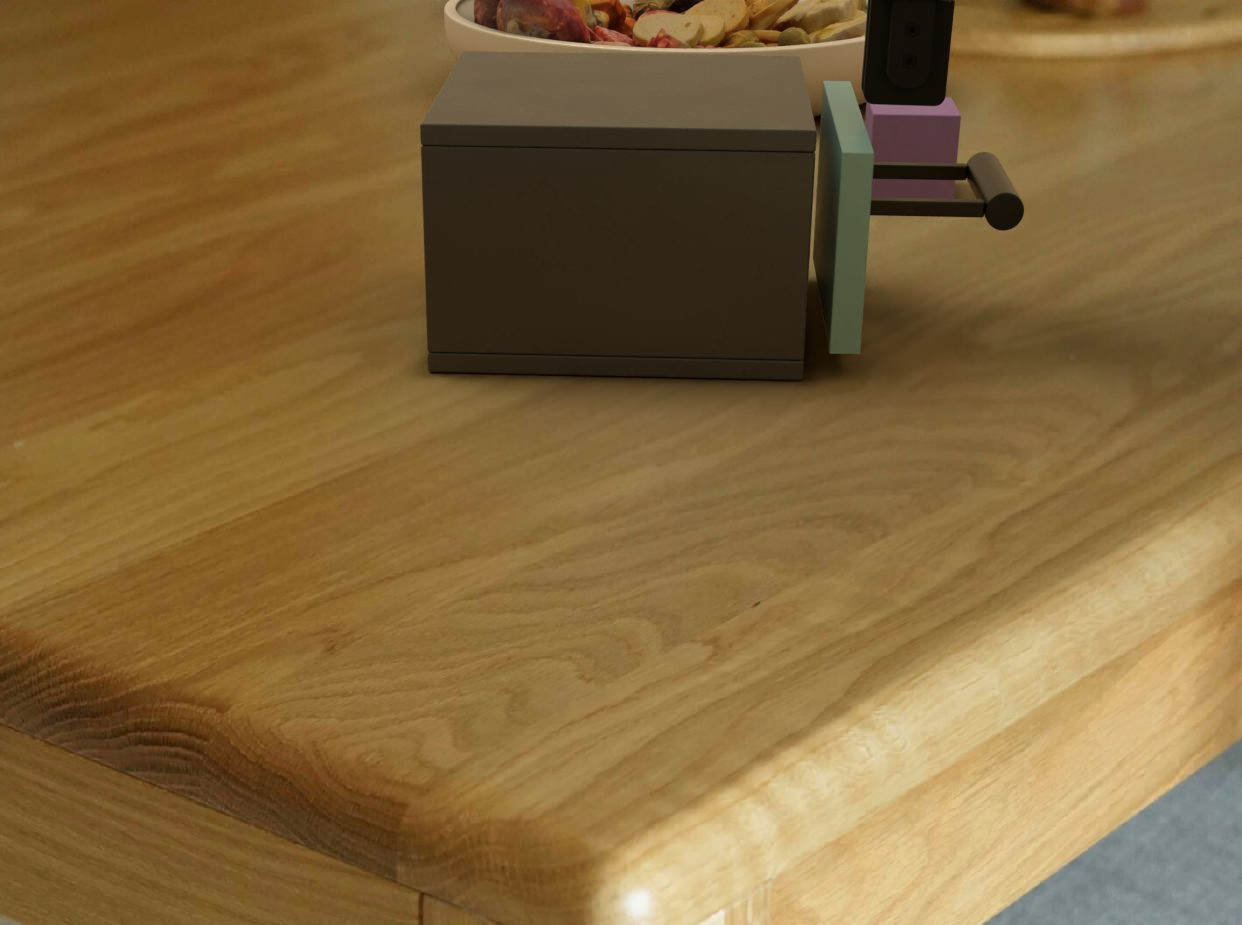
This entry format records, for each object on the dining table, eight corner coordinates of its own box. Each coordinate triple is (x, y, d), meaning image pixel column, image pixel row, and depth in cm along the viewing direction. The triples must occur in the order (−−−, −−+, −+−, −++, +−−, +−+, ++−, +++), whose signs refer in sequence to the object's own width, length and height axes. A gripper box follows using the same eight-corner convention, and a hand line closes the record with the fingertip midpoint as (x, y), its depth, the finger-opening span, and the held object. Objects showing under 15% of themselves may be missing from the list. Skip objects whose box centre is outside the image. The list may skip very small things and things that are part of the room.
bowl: (688, 28, 146) (691, -86, 143) (1016, 93, 126) (1029, -38, 123) (352, 80, 129) (346, -48, 125) (671, 165, 109) (675, 15, 105)
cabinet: (788, 273, 90) (800, 55, 86) (802, 380, 77) (817, 130, 73) (467, 267, 91) (462, 50, 87) (427, 372, 78) (419, 123, 74)
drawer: (980, 261, 89) (997, 83, 85) (1022, 358, 77) (1045, 155, 73) (538, 252, 90) (537, 75, 86) (513, 347, 78) (510, 146, 74)
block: (944, 181, 106) (951, 97, 104) (953, 202, 102) (961, 115, 100) (860, 180, 106) (866, 95, 104) (867, 200, 102) (873, 113, 100)
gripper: (1091, -425, 64) (1023, 147, 73) (1025, -417, 78) (974, 67, 86) (857, -430, 65) (816, 141, 73) (831, -421, 78) (799, 62, 86)
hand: (902, 99), depth 79 cm, fingers closed
